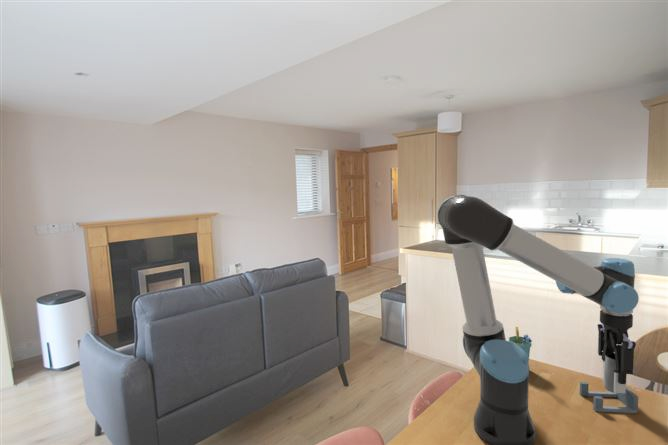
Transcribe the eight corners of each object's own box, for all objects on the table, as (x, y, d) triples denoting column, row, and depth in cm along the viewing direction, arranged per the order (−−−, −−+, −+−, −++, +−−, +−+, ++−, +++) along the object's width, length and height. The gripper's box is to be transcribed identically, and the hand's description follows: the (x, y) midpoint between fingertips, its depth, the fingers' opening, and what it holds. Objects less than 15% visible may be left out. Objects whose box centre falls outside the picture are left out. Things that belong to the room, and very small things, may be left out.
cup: (542, 380, 119) (542, 338, 118) (518, 380, 120) (518, 338, 118) (522, 360, 133) (523, 321, 132) (501, 360, 134) (501, 322, 132)
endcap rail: (595, 411, 103) (595, 395, 102) (579, 394, 111) (579, 378, 111) (637, 413, 101) (638, 396, 101) (618, 395, 109) (618, 380, 109)
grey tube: (615, 395, 103) (616, 361, 102) (600, 386, 107) (601, 354, 106) (627, 392, 104) (628, 358, 103) (612, 383, 108) (613, 351, 107)
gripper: (653, 323, 94) (649, 406, 96) (611, 301, 111) (609, 372, 113) (621, 323, 95) (618, 405, 97) (585, 301, 112) (583, 371, 114)
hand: (613, 387), depth 105 cm, fingers closed on grey tube, 4 cm apart
